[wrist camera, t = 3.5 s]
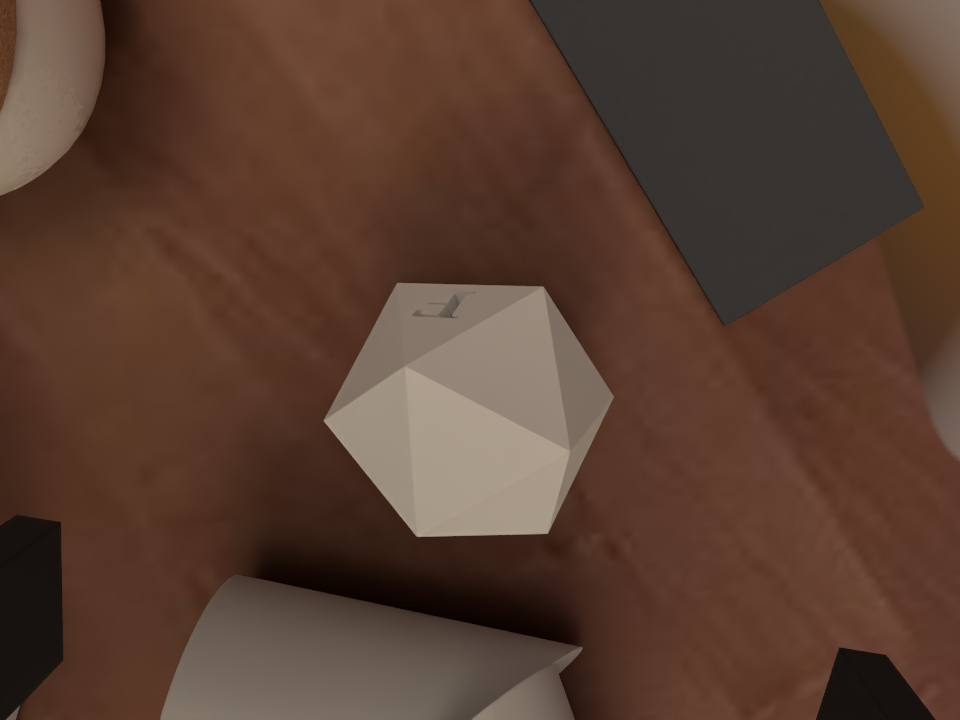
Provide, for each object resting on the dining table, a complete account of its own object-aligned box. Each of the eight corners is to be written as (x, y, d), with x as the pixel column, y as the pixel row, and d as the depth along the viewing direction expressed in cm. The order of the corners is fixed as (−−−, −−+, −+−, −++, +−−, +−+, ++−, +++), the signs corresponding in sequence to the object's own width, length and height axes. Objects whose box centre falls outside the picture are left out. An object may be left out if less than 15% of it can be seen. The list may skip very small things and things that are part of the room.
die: (637, 338, 27) (576, 218, 19) (607, 570, 25) (522, 559, 16) (446, 328, 31) (317, 222, 22) (404, 531, 29) (243, 504, 20)
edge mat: (921, 206, 25) (925, 206, 25) (723, 325, 26) (724, 326, 26) (638, -347, 21) (639, -352, 21) (426, -173, 23) (425, -177, 23)
